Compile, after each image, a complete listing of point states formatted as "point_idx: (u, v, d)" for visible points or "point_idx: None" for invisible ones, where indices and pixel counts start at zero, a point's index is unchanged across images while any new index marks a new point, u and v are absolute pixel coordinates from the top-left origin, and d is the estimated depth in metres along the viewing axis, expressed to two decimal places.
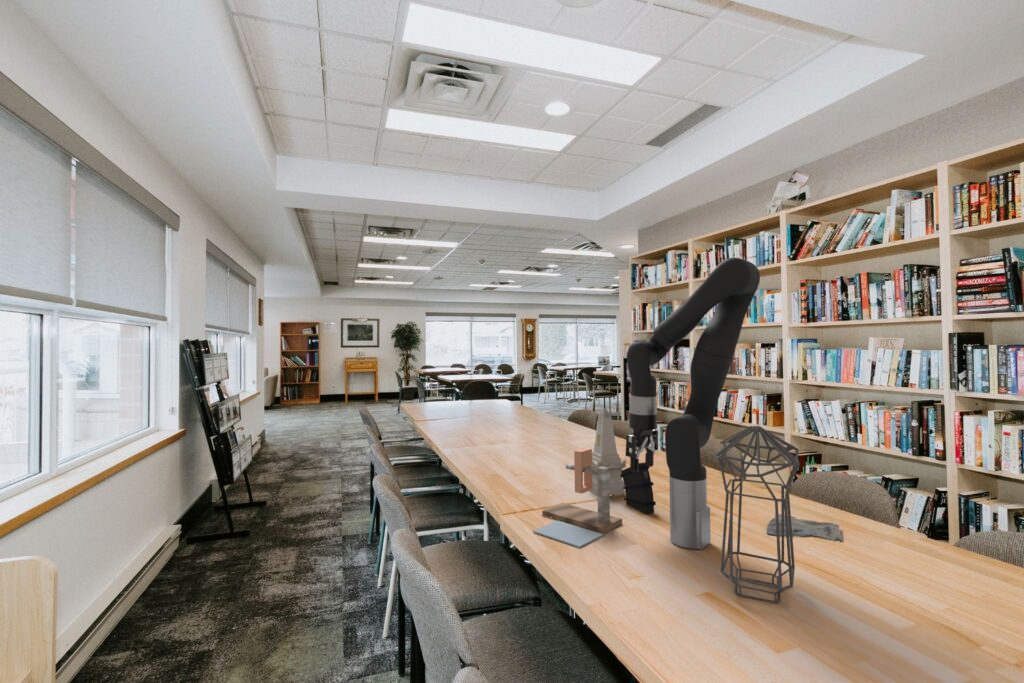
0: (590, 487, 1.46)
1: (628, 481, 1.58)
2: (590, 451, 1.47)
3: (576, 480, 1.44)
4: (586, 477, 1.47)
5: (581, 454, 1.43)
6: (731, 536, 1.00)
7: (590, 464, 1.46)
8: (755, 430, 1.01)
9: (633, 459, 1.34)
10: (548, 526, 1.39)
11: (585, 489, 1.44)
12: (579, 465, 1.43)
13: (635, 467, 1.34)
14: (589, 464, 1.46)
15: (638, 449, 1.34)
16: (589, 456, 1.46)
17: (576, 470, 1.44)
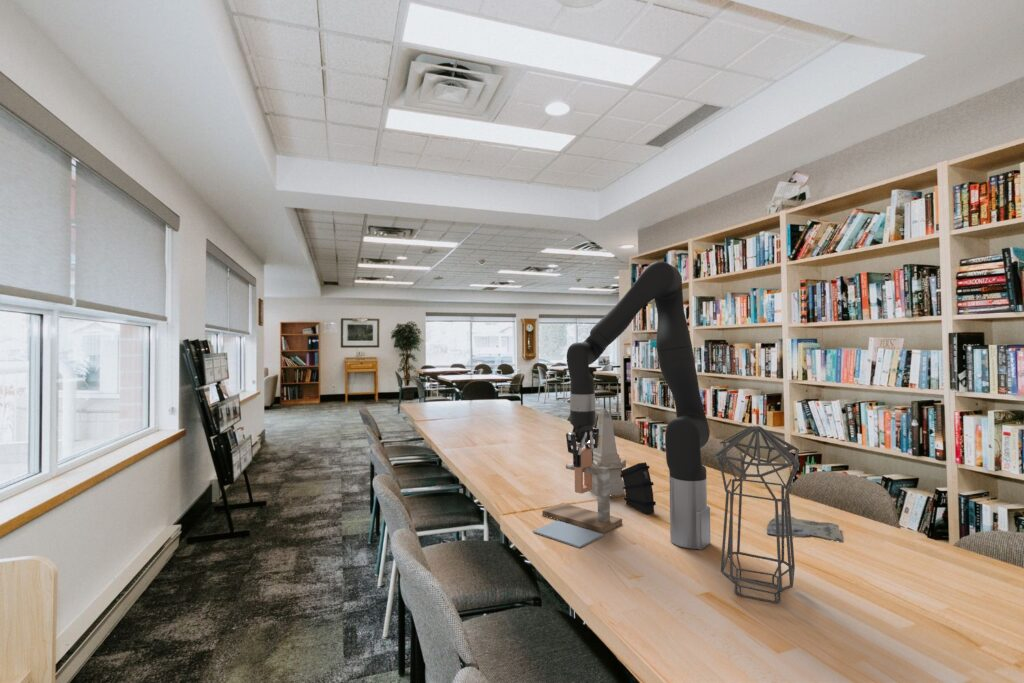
0: (590, 487, 1.46)
1: (628, 481, 1.58)
2: (590, 451, 1.47)
3: (576, 480, 1.44)
4: (586, 477, 1.47)
5: (581, 454, 1.43)
6: (731, 536, 1.00)
7: (590, 464, 1.46)
8: (755, 430, 1.01)
9: (575, 455, 1.43)
10: (548, 526, 1.39)
11: (585, 489, 1.45)
12: None
13: (577, 463, 1.43)
14: (589, 464, 1.46)
15: (579, 445, 1.43)
16: (589, 456, 1.46)
17: (576, 470, 1.44)
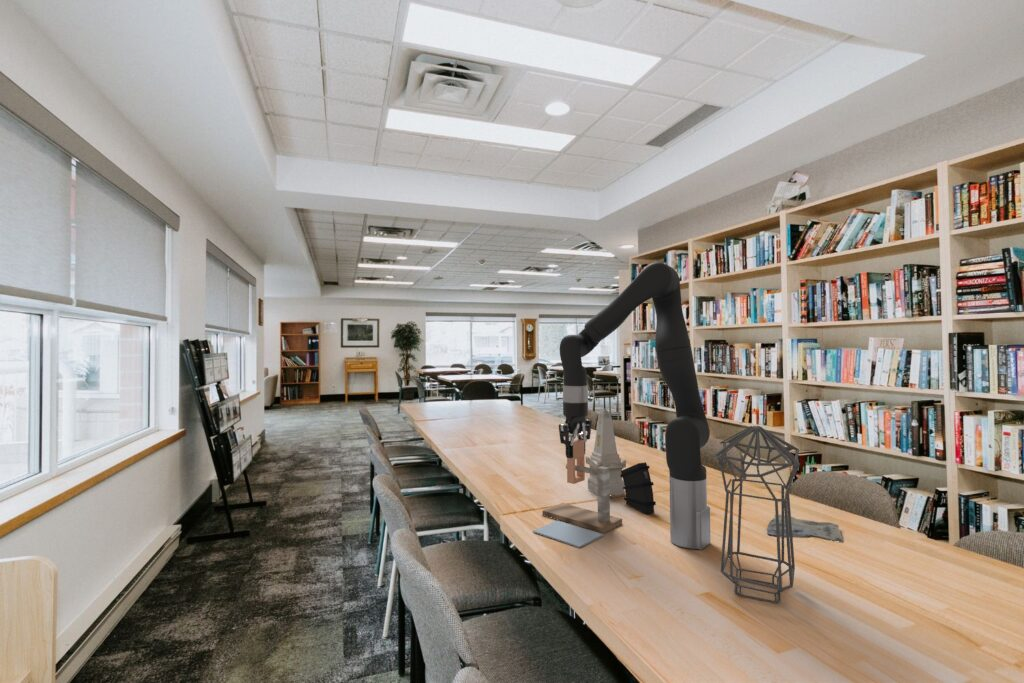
0: (582, 478, 1.48)
1: (628, 481, 1.58)
2: (582, 442, 1.48)
3: (568, 471, 1.46)
4: None
5: (574, 445, 1.45)
6: (731, 536, 1.00)
7: (582, 455, 1.48)
8: (755, 430, 1.01)
9: (568, 446, 1.45)
10: (548, 526, 1.39)
11: (578, 479, 1.46)
12: None
13: (570, 453, 1.45)
14: (581, 455, 1.48)
15: (571, 436, 1.45)
16: (582, 447, 1.48)
17: (568, 461, 1.46)
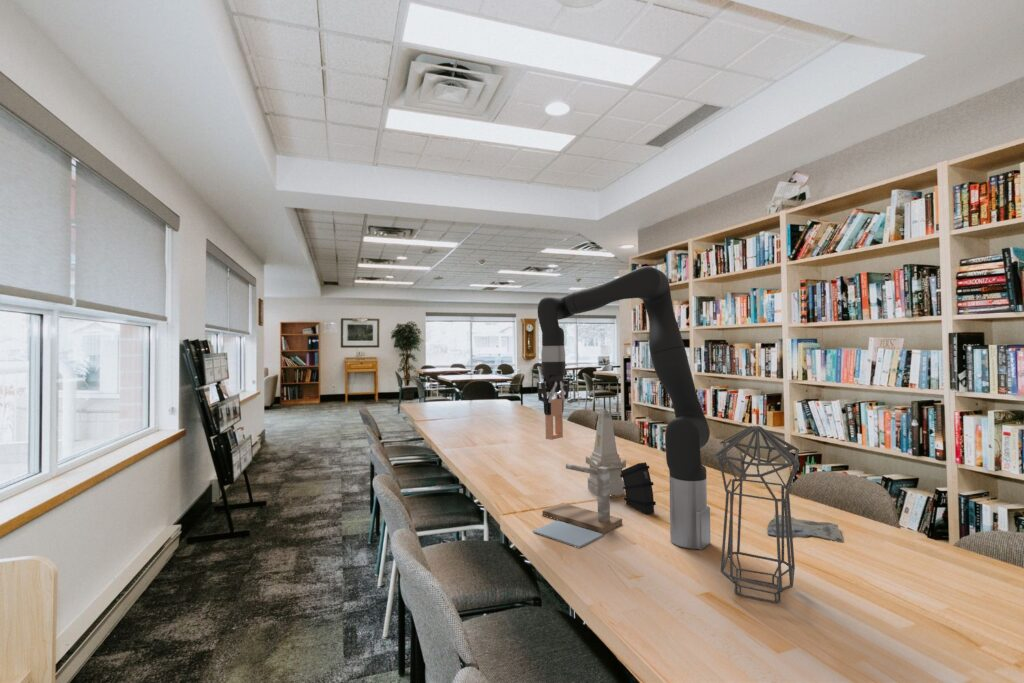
0: (560, 435, 1.54)
1: (628, 481, 1.58)
2: (560, 401, 1.54)
3: (546, 428, 1.52)
4: (557, 426, 1.55)
5: (552, 402, 1.51)
6: (731, 536, 1.00)
7: (560, 413, 1.54)
8: (755, 430, 1.01)
9: (546, 403, 1.50)
10: (548, 526, 1.39)
11: (556, 435, 1.52)
12: None
13: (548, 410, 1.50)
14: (559, 413, 1.54)
15: (549, 394, 1.51)
16: (559, 405, 1.54)
17: (547, 418, 1.52)
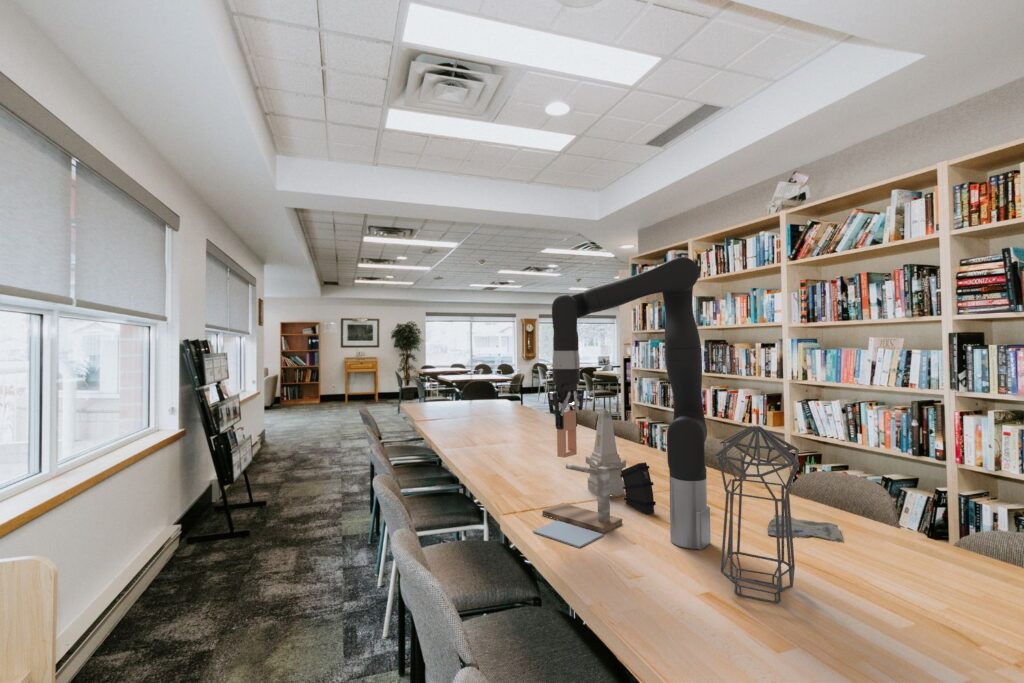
0: (574, 451, 1.36)
1: (628, 481, 1.58)
2: (574, 413, 1.36)
3: (558, 444, 1.34)
4: (570, 441, 1.37)
5: (564, 415, 1.33)
6: (731, 536, 1.00)
7: (574, 426, 1.36)
8: (755, 430, 1.01)
9: (558, 416, 1.32)
10: (548, 526, 1.39)
11: (569, 453, 1.34)
12: None
13: (560, 424, 1.32)
14: (573, 427, 1.35)
15: (562, 406, 1.32)
16: (573, 418, 1.36)
17: (559, 433, 1.34)
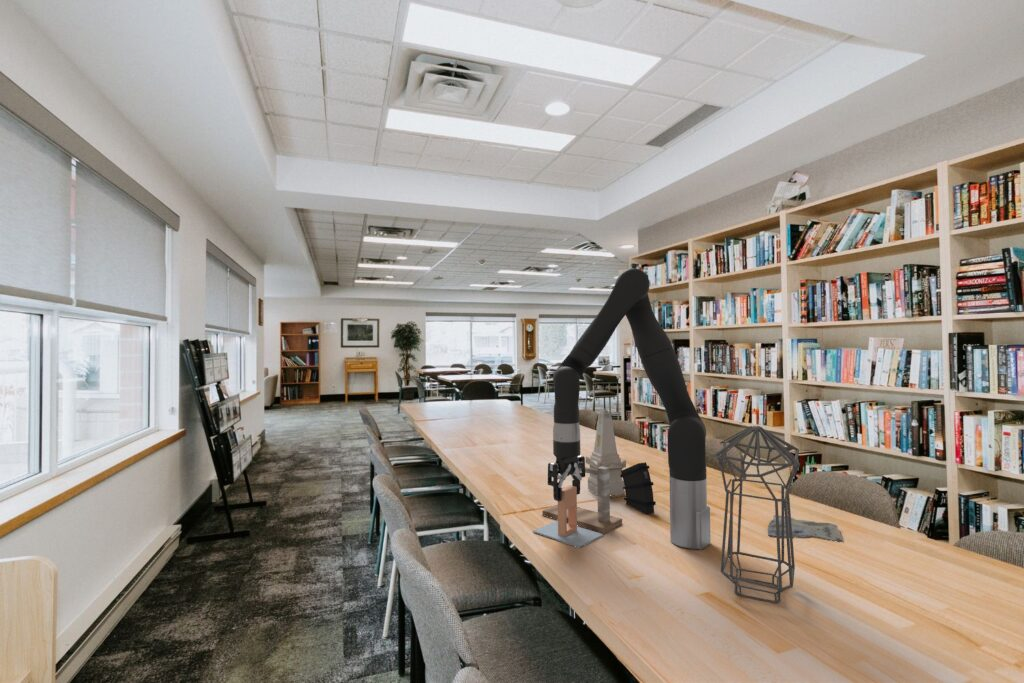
0: (575, 528, 1.35)
1: (628, 481, 1.58)
2: (575, 489, 1.36)
3: (559, 522, 1.33)
4: (570, 517, 1.37)
5: (565, 493, 1.32)
6: (731, 536, 1.00)
7: (574, 503, 1.35)
8: (755, 430, 1.01)
9: (556, 488, 1.31)
10: (548, 526, 1.39)
11: (569, 530, 1.34)
12: (562, 505, 1.33)
13: (558, 496, 1.31)
14: (573, 503, 1.35)
15: (561, 477, 1.31)
16: (574, 495, 1.35)
17: (559, 510, 1.33)
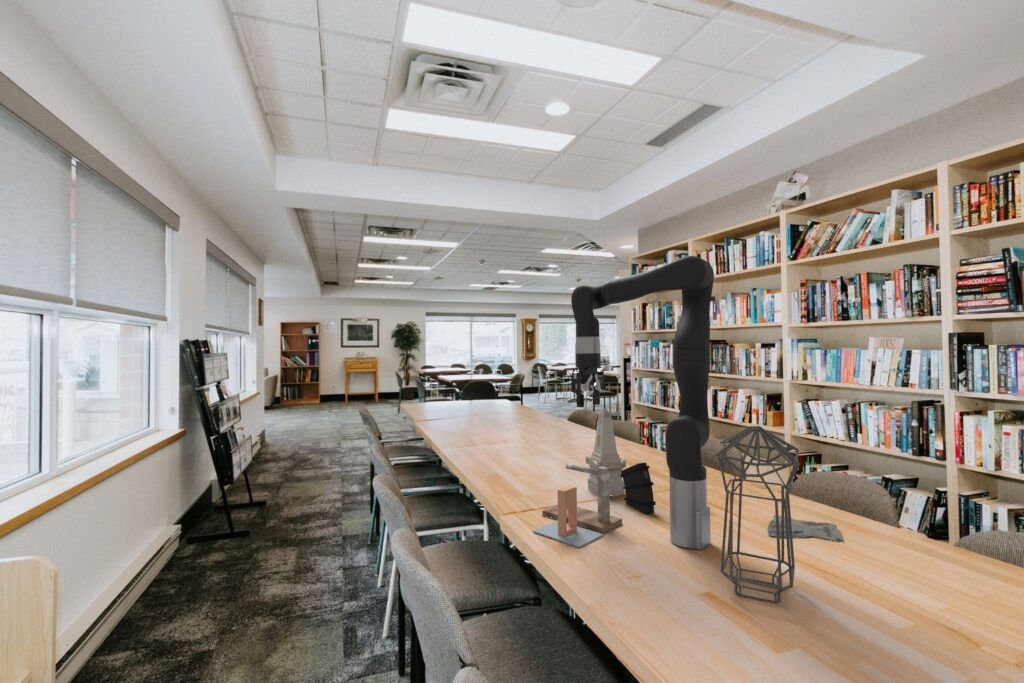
0: (575, 528, 1.35)
1: (628, 481, 1.58)
2: (575, 489, 1.36)
3: (559, 522, 1.33)
4: (570, 517, 1.37)
5: (565, 493, 1.32)
6: (731, 536, 1.00)
7: (574, 503, 1.35)
8: (755, 430, 1.01)
9: (579, 395, 1.42)
10: (548, 526, 1.39)
11: (569, 530, 1.34)
12: (562, 505, 1.33)
13: (581, 402, 1.42)
14: (573, 503, 1.35)
15: (583, 385, 1.43)
16: (574, 495, 1.35)
17: (559, 510, 1.33)
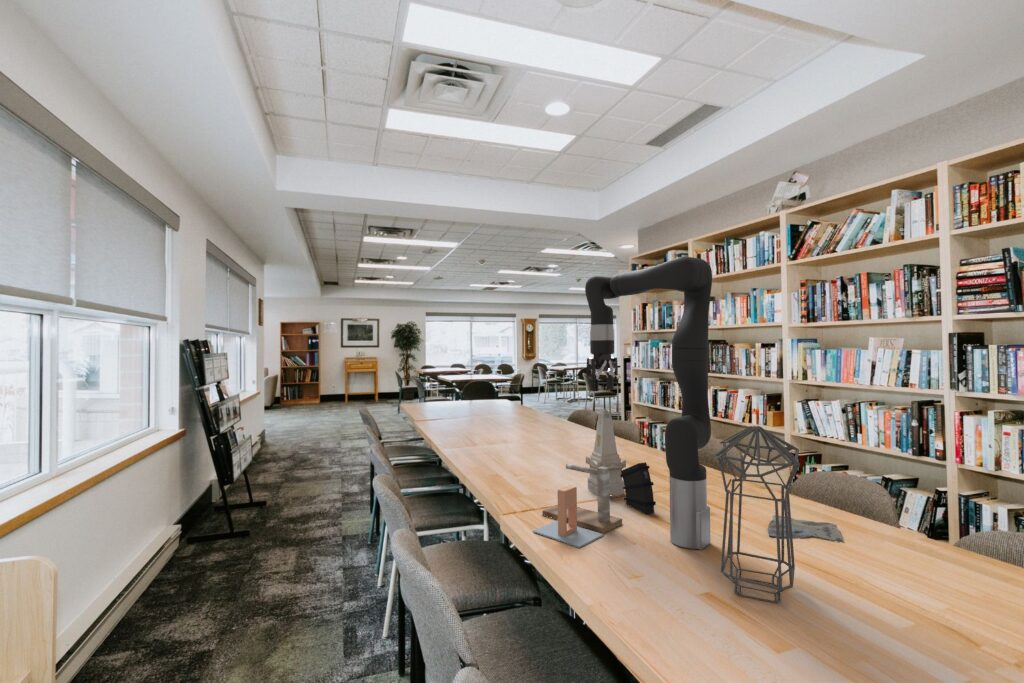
0: (575, 528, 1.35)
1: (628, 481, 1.58)
2: (575, 489, 1.36)
3: (559, 522, 1.33)
4: (570, 517, 1.37)
5: (565, 493, 1.32)
6: (731, 536, 1.00)
7: (574, 503, 1.35)
8: (755, 430, 1.01)
9: (593, 379, 1.50)
10: (548, 526, 1.39)
11: (569, 530, 1.34)
12: (562, 505, 1.33)
13: (595, 386, 1.50)
14: (573, 503, 1.35)
15: (598, 371, 1.51)
16: (574, 495, 1.35)
17: (559, 510, 1.33)
